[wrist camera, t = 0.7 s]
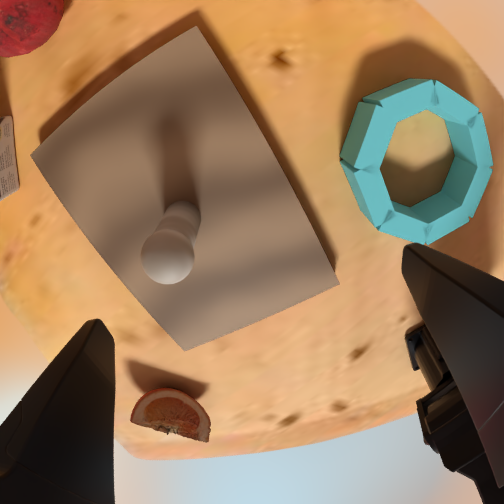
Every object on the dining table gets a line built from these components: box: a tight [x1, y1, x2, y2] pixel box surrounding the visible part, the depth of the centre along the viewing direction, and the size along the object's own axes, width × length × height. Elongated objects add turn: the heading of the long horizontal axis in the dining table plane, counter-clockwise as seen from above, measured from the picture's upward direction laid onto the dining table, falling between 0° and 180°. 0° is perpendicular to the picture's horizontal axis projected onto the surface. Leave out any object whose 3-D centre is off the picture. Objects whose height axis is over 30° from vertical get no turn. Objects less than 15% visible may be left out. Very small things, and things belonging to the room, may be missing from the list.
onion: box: [0, 0, 64, 57], centre depth 11 cm, size 6×6×8 cm
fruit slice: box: [130, 388, 211, 442], centre depth 30 cm, size 8×7×5 cm
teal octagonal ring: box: [340, 78, 493, 245], centre depth 19 cm, size 11×11×3 cm
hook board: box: [30, 26, 340, 351], centre depth 18 cm, size 20×14×8 cm
